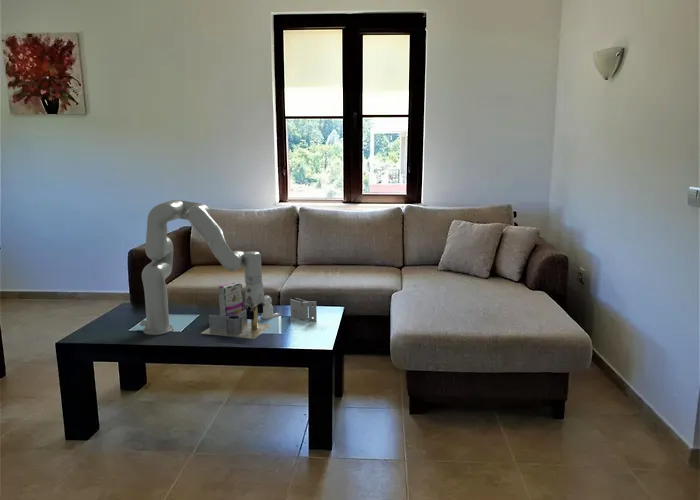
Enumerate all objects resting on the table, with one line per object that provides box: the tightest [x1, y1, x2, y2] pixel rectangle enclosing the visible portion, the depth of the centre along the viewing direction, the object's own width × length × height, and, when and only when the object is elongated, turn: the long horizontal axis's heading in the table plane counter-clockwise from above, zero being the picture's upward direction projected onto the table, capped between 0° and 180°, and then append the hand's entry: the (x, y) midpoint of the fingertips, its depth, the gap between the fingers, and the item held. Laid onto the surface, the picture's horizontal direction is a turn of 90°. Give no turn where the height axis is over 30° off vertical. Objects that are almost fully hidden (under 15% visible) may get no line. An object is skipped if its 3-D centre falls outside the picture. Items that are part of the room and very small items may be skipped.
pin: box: [250, 306, 259, 329], centre depth 245 cm, size 3×3×10 cm
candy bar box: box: [217, 281, 244, 316], centre depth 265 cm, size 11×5×16 cm, turn 143°
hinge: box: [289, 297, 318, 324], centre depth 259 cm, size 14×5×10 cm, turn 59°
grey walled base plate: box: [200, 309, 274, 340], centre depth 244 cm, size 26×20×8 cm
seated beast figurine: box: [261, 294, 282, 320], centre depth 262 cm, size 10×9×12 cm
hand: (255, 316), depth 245 cm, fingers open, 9 cm apart
